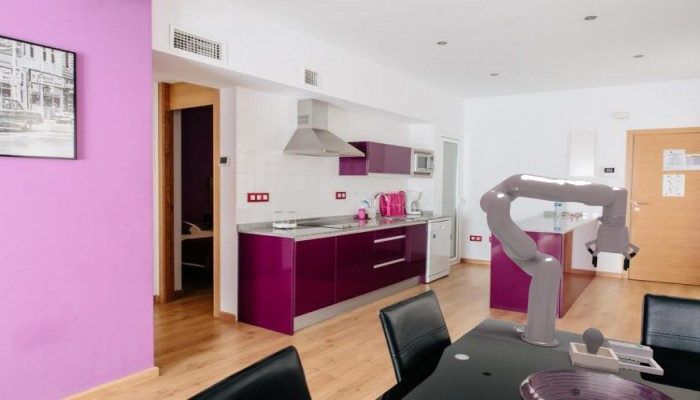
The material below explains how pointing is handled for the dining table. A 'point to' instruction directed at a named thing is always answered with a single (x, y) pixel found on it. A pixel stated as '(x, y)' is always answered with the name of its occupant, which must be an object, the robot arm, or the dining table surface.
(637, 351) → the tester cradle
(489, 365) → the dining table surface
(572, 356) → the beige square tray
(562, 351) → the dining table surface
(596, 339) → the light bulb
